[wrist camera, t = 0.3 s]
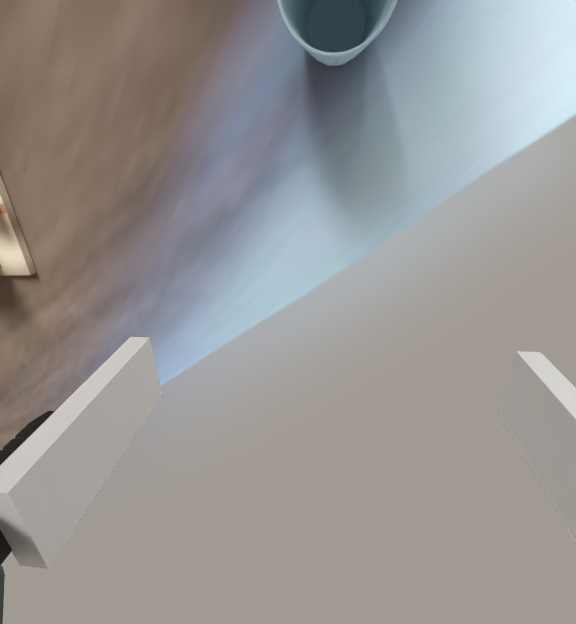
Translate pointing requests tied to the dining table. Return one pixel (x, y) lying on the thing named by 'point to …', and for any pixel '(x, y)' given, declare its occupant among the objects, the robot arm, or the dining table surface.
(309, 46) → the cup
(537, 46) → the dining table surface
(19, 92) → the dining table surface
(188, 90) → the dining table surface
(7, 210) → the pipe rig
